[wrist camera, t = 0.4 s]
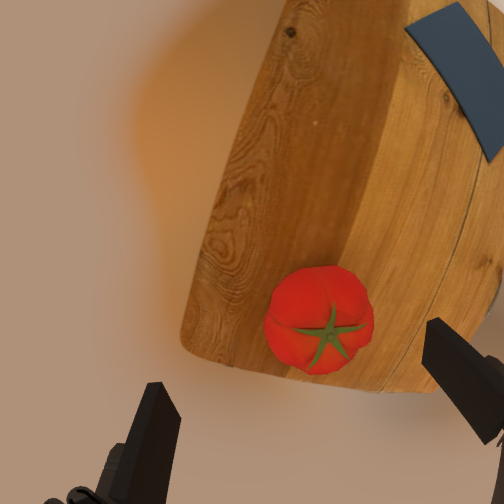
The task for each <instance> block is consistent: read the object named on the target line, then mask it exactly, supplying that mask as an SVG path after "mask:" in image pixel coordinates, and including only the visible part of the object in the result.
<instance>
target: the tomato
mask: <svg viewBox="0 0 504 504" xmlns="http://www.w3.org/2000/svg"><path fill="white" fill-rule="evenodd" d="M263 327H264V331H265V335H266V340H267V342H268V345H269V347H270V349H271V350H272V351H273V353H274V354H275V355H276V357H277V358H278V359H279V360H280V361H281V362H283V363H284V364H287V365H291V366H294V367H296V368H299V369H301V370H303V371H304V372H306V373H307V374H309V375H323V374H329V373H332V372H334V371H337V370H339V369H341V368H342V367H343V366H344V365H346V364H347V363H348V362H350V361H351V360H352V359H353V358H354V356H355V354H356V352H357V351H358V349H359V348H361V347H364V346H366V345H368V343H369V342H370V341H371V338H372V334H373V330H374V316H373V308H372V306H371V304H370V302H369V300H368V297H367V291H366V289H365V287H364V286H363V285H362V283H361V282H360V281H359V279H358V278H357V277H356V275H354V274H353V273H351V272H349V271H347V270H345V269H343V268H341V267H339V266H337V265H329V266H320V267H310V268H301V269H299V270H297V271H295V272H294V273H292V274H290V275H288V276H286V277H285V278H284V279H283V280H282V281H281V282H280V283H279V284H278V285H277V286H276V287H275V288H274V290H273V295H272V299H271V303H270V307H269V310H268V312H267V314H266V316H265V319H264V324H263Z"/></svg>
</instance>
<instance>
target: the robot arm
mask: <svg viewBox="0 0 504 504" xmlns="http://www.w3.org/2000/svg"><path fill="white" fill-rule="evenodd" d="M421 363H422V365H423V366H424V367H425V368H426V369H427V371H428V372H429V373H430V374H431V376H432V377H433V378H434V379H435V380H436V382H437V383H438V384H439V385H440V387H441V388H442V389H443V390H444V392H445V393H446V394H447V395H448V397H449V398H450V399H451V401H452V402H453V403H454V405H455V406H456V407H457V408H458V409H459V411H460V412H461V414H462V415H463V416H464V417H465V419H466V420H467V422H468V423H469V424H470V425H471V427H472V428H473V430H474V431H475V432H476V434H477V435H478V437H479V438H480V439H481V441H482V442H483V443H484V445H486V444H487V443H489V442H490V441H491V440H493V439H494V438H496V437H497V436H498V434H499V432H500V431H501V429H503V430H504V364H503V363H502V362H500V361H499V360H498V359H497V358H494V357H492V356H490V355H488V356H486V357H485V358H484V357H483V356H482V355H481V354H480V353H478V351H476V350H475V349H474V348H473V347H472V346H471V345H470V344H469V343H468V342H467V341H465V340H464V339H463V338H462V337H461V336H460V335H459V334H458V333H456V332H455V331H454V330H453V329H452V328H451V327H450V326H448V325H447V324H446V323H445V322H444V321H443V320H441V319H440V318H439V317H437V318H435V319H432V320H430V321H427V326H426V334H425V342H424V349H423V356H422V362H421ZM180 423H181V417H180V415H179V413H178V412H177V410H176V408H175V406H174V404H173V402H172V401H171V399H170V397H169V395H168V393H167V391H166V389H165V387H164V385H163V383H162V382H153V383H148V384H147V386H146V389H145V391H144V394H143V397H142V400H141V402H140V405H139V407H138V410H137V412H136V415H135V418H134V421H133V423H132V426H131V429H130V432H129V434H128V437H127V440H126V443H125V444H124V443H117V444H116V445H115V446H114V447H113V448H112V449H111V450H110V452H109V455H108V458H107V462H106V463H105V466H104V469H103V471H102V474H101V477H100V480H99V483H98V485H97V488H96V491H95V493H94V492H93V491H92V490H90V489H89V488H87V487H82V486H79V487H75V488H74V489H72V490H71V491H70V492H69V493H68V496H67V499H66V500H67V504H166V498H167V492H168V486H169V481H170V475H171V469H172V464H173V459H174V453H175V449H176V443H177V438H178V433H179V428H180ZM501 442H502V446H501V447H502V449H501V457H500V463H499V469H498V475H497V480H496V485H495V489H494V494H493V498H492V502H491V504H504V434H503V436H502V437H501V439H500V440H499V442H498V443H497V447H498V446H499V445H500V444H501ZM44 504H64V503H63V502H61V501H60V500H58V499H56V498H51V499H48V500H47V501H45V502H44Z"/></svg>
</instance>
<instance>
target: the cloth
mask: <svg viewBox="0 0 504 504" xmlns="http://www.w3.org/2000/svg"><path fill="white" fill-rule="evenodd" d="M404 29H405V30H406V31H407V32H408V33H409V34H410V36H411V37H412V38H413V39H414V40H415V42H416V43H417V44H418V45H419V47H420V48H421V49H422V50H423V52H424V53H425V54H426V56H427V57H428V58H429V60H430V61H431V62H432V64H433V65H434V66H435V68H436V69H437V71H438V72H439V74H440V75H441V77H442V78H443V79H444V81H445V83H446V84H447V86H448V87H449V89H450V90H451V92H452V93H453V95H454V97H455V98H456V100H457V102H458V103H459V105H460V107H461V109H462V110H463V112H464V114H465V116H466V118H467V119H468V121H469V123H470V125H471V127H472V129H473V131H474V133H475V135H476V137H477V139H478V141H479V143H480V145H481V147H482V150H483V152H484V154H485V156H486V159H487V161H488V162H491V160H492V159H493V158H494V157H495V155H496V154H497V153H498V151H499V150H500V149H501V147H502V146H503V145H504V68H503V66H502V64H501V62H500V61H499V59H498V57H497V56H496V54H495V52H494V51H493V49H492V48H491V46H490V44H489V43H488V41H487V40H486V38H485V37H484V35H483V34H482V33H481V31H480V30H479V28H478V27H477V26H476V24H475V23H474V21H473V20H472V19H471V17H470V16H469V15H468V14H467V12H466V11H465V10H464V9H463V7H462V6H461V5H460V4H459V2H455V3H453V4H451V5H449V6H447V7H445V8H442V9H440V10H438V11H436V12H434V13H432V14H430V15H428V16H426V17H424V18H422V19H420V20H418V21H416V22H415V23H413V24H411V25H409V26H407V27H405V28H404Z"/></svg>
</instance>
